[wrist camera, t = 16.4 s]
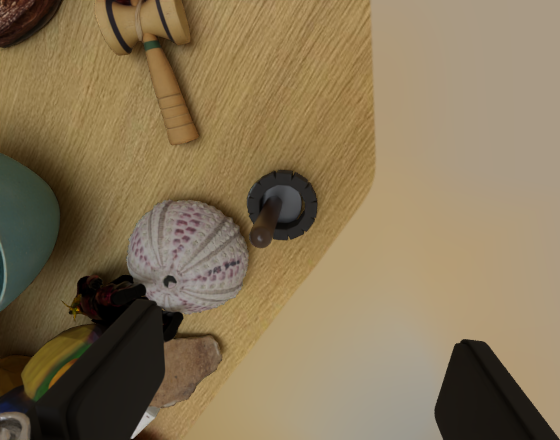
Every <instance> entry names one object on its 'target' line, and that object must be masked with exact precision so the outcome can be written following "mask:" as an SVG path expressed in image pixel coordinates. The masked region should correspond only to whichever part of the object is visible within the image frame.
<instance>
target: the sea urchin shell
mask: <svg viewBox="0 0 560 440" xmlns="http://www.w3.org/2000/svg"><path fill="white" fill-rule="evenodd" d="M130 236H131V237H130V238H129V239H128V240H129V242H130V244H129V245H128V250H127V252H128V256H127V257H126V259H127V260H126V261H127V265H128V270H129V273H130V274H131V275H132V277H133V282H134V284H137V283H142V284H143V285H145V287H146V296H147V297H148V298H149V299H150V300H153V301H156V303H157V306H161V308H162V309H163V310H165V311H170V312H173V311H179V312H181V313H184V314H191V313H197V312H200V313H201V312H202V311H205V310H209V309H212V308H217V307H218V306H220V305H224V304H225V302H226V301H228V299H231V298H235V297H236V295H237V294H238V292H239V290H241V287H242V286H243V277H245V276H246V271H247V267H248V261H249V259H248V256H249V255H248V252H249V251H248V250H247V245H246V242H245V241H244V237H243V236H242V235H241V234H240V232H239V225H237V224H235V223H234V222H233V218H231V217H226V216H224V215H223V214H222V212H221V210H217V209H216V208H215V207H214V206H208V205H207V204H206V203H201V201H199V202H198V201H193V200H188V201H185V200H182V201H180V200H179V201H177V202H175V201H173V200H171V199H169V200H167V201H166V200H164V201H163V202H162V203H157V205H154V208H153V209H152V210H151V211H150V212H148V213H146V214H145V216H142V219H140V220H139V221H138V223H136V227H135V229H134V230H133V234H131V235H130Z"/></svg>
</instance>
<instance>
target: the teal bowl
mask: <svg viewBox="0 0 560 440" xmlns="http://www.w3.org/2000/svg"><path fill="white" fill-rule="evenodd" d="M59 225H60V209H59V205H58V201H57V199H56V197H55V194H54V193H53V191H52V189H51V188H50V187H49V185H48V184H47V183H46V182H45V181H44V180H43V179H42V178H41V177H39V176H38V175H37V174H36V173H34V172H33V171H32V170H30V169H29V168H27V167H26V166H24V165H23V164H21V163H19V162H17V161H16V160H14V159H12V158H10V157H8V156H6V155H4V154H2V153H0V312H1V311H2V310H3V309H4V308H6V307H7V306H8V305H9V304H10V303H11V302H13V301H14V300H15V299H16V298H17V297H18V296H19V295H20V294H21V293H22V292H23V291H24V290H25V289H26V288H27V287H28V286H29V285H30V284H31V282H32V281H33V280H34V279H35V278H36V276H37V275H38V274H39V272H40V271H41V270H42V268H43V267H44V265H45V264H46V262H47V260H48V259H49V257H50V255H51V253H52V251H53V248H54V246H55V243H56V240H57V236H58V231H59Z"/></svg>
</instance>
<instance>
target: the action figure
mask: <svg viewBox="0 0 560 440" xmlns="http://www.w3.org/2000/svg"><path fill="white" fill-rule="evenodd" d="M98 277H99V276H97V275H92V276H85V277H83V278H81V279H80V280H79V281H78V283H77V295H76V298H74V300H73V302H72V305H71V307H70V306H68V305H66V304H65V303H64V302H63V301H62V300H61V301H62V302H63V303H64V304H65V305H66V306H67V307H69V308H70V311H69V314H73V315H75V316H74V320H75V317H76V314H83V315H87V316H88V317H90V318H92V320H91V321H92V322H94V323H96V324H97V323H99V324H104V325H109V326H111V325H112V324H113V323H114V322H115V321H116V320H117V319H118V318H119V317H120V316H121V315H122V314H123V312H124V311H125V310H126V309H127V308H128V307H129V306H130V305H131V304H132V303H133V302H134V301H135V300H136V299H145V300H149V298H148V297H141V296H144V295H146V287H145V285H143V284H142V283H137V284H134V282H133V277H132V276H130V275H122V276H120V277H119V278H117V279H116V280H114V281H112V282H111V283H109V284H108V285H107V286H104V287H102V288H100V287H101V285H103V283H102V282H103V280H102V279H101V278H98ZM80 294H82V296H81V295H80ZM182 320H183V314H182V313H181V312H179V311H173V312H170V311H163V310H162V322H163V339H164V342H168V341H170V340H172V339H173V338H174V337H175V335H176V333H177V330H178V327H179V325H180V324H181V322H182ZM75 323H76V321H75Z"/></svg>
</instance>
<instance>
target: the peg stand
mask: <svg viewBox="0 0 560 440" xmlns="http://www.w3.org/2000/svg"><path fill="white" fill-rule="evenodd" d="M258 181H259V180H258ZM258 181H257V182H258ZM257 182H256V183H257ZM256 183H255V184H254V185H253V186H252V188H251V189H250V191H249V193H248V197H247V208H248V198H249V197H250V195H249V194H250V193H251V191H252V190H253V188H254V186H255V185H256ZM262 207H263V208H262V210H261V212H260V214H259V216H258V218H257V220H256V222H255V224H254V225H253V227H252V229H251V231H250V234H249V240H250V242H251V244H252V245H253V246H255V247H257V248H265V247H267V246H268V245H269V244H270V243H271V241H272V238H273V234H274V231H275V228H276V225H277V223H290V222H292V221H294V220H296V219H297V218H298V216H299V215H300V212H301V208H302V197H301V194H300V192H298V191H297V190H295V189H294V188H292V187H291V186H284V185H276V186H274V187H272V188H270V189H268V190H266V192H265V193H264V195H263V200H262ZM249 214H250V213H249Z"/></svg>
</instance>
